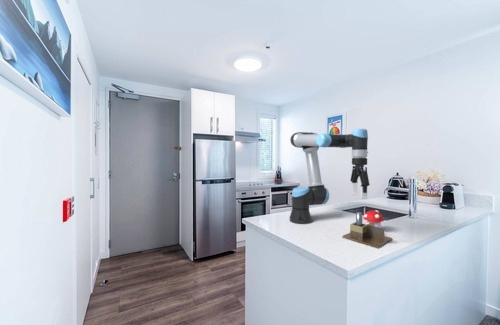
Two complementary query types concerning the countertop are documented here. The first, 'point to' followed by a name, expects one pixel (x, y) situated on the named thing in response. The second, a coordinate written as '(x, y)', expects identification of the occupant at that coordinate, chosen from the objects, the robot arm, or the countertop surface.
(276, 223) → the countertop surface
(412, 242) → the countertop surface
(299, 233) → the countertop surface
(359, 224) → the pin
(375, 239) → the square socket plate
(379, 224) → the mushroom
